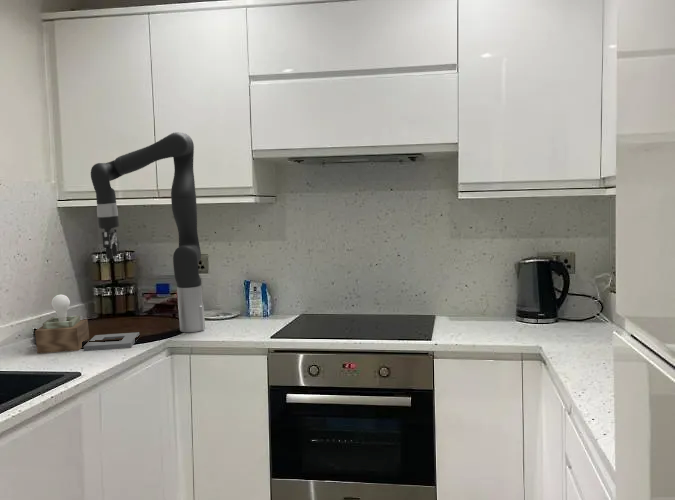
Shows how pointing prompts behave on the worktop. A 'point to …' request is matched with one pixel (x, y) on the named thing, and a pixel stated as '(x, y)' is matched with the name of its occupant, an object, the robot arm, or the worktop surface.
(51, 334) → the raised socket
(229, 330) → the worktop surface
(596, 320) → the worktop surface
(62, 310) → the lightbulb
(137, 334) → the frame
